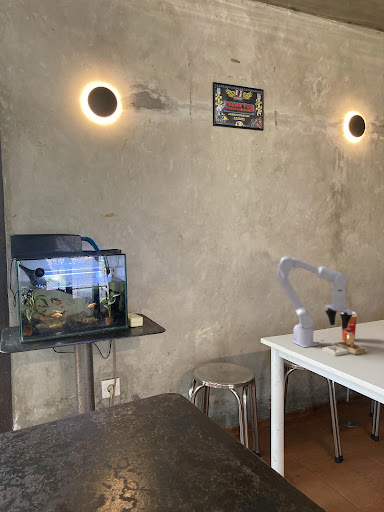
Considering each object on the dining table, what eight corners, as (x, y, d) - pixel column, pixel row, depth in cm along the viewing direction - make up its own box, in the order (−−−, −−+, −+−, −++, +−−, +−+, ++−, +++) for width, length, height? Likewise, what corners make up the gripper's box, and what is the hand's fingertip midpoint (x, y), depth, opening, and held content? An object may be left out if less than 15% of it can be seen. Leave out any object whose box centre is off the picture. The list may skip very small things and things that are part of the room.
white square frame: (321, 350, 176) (321, 346, 176) (335, 348, 179) (335, 344, 179) (334, 356, 168) (334, 351, 168) (348, 353, 172) (348, 349, 172)
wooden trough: (335, 347, 180) (335, 342, 180) (345, 345, 183) (345, 341, 183) (355, 355, 169) (355, 350, 169) (365, 352, 172) (365, 348, 172)
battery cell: (344, 348, 177) (345, 332, 176) (349, 347, 178) (350, 332, 178) (350, 350, 174) (350, 334, 173) (355, 349, 175) (355, 333, 175)
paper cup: (337, 340, 192) (338, 312, 191) (344, 336, 197) (344, 310, 196) (353, 343, 186) (353, 315, 185) (359, 339, 192) (360, 312, 191)
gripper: (357, 300, 176) (356, 329, 177) (333, 295, 189) (333, 322, 190) (345, 301, 173) (345, 331, 174) (322, 296, 186) (322, 324, 187)
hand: (338, 326), depth 182 cm, fingers open, 7 cm apart
